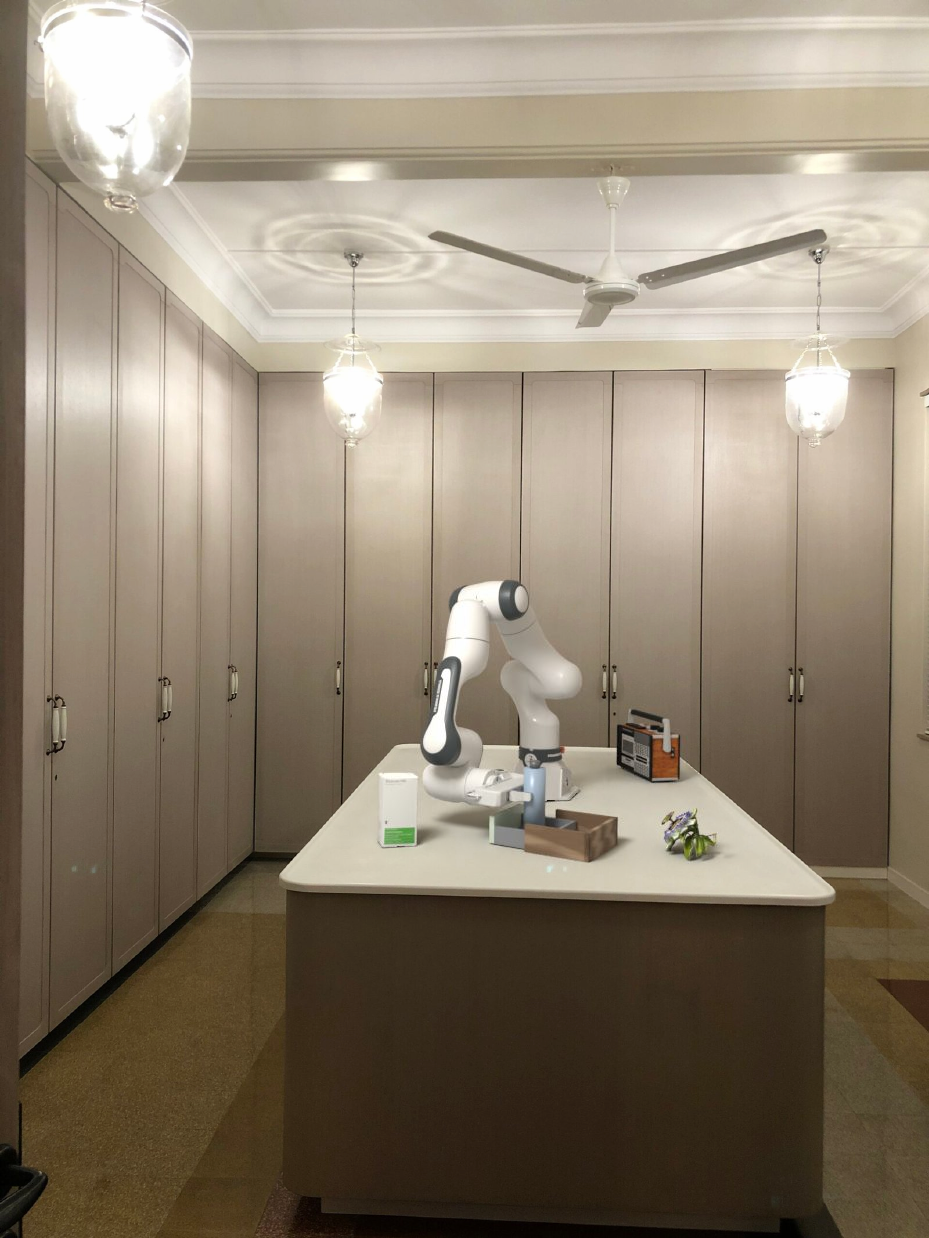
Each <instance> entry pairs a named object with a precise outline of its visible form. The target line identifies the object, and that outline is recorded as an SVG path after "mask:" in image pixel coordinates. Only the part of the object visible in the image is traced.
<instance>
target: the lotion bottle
mask: <svg viewBox="0 0 929 1238" xmlns="http://www.w3.org/2000/svg"><path fill="white" fill-rule="evenodd" d="M545 789H546V768H545V767H541V766H540V761H539V760H530V766H526V767H524V792H531V793H533V800H531V801H522V802H523V803H522V804H523V830H525V824H526V823H527V824H534V825H541V826H545V816H546V801H545Z"/></svg>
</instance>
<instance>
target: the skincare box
mask: <svg viewBox="0 0 929 1238" xmlns="http://www.w3.org/2000/svg"><path fill="white" fill-rule="evenodd" d="M377 794H378V795H377V796H378V799H377V801H378V802H377V804H378V805H377V827H376V828H377V829H376V831H377V832H376V835H377V837H376V838H377V839H376V840H377V843H379V845H380V847H381V848H397V846H405V847H414V846H413V845H417V844H418V840H417V839H418V804H419V803H418V802H419V799H418V798H419V776H418V775H416V774H415V773H413V772H378V793H377Z"/></svg>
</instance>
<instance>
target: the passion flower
mask: <svg viewBox="0 0 929 1238" xmlns="http://www.w3.org/2000/svg"><path fill="white" fill-rule="evenodd" d="M697 812H698V808H697V807H696V808H694V809H693V810H692V811H690V810H688V811H686V812H683V813H681V814H678V816H675V819H674V820H673V816H674V814H675V811H671V812H669V813H668V814H667V815H666V816H665V817H664V818H663V820H662V821H661V825H665V824H666V823H667V822H669V821H670V822H671V823H669V825H668V827H667V828H666V830H664V832H663V833H664V836H663V840H664V842H665V843H666V848H665V849H664V850H665V851H666V852H670V851H672V849H673V847H674V846H675V844H676V842H677V841H678V840H680V843H681V844H682V845H683V850H684V851H683V852H684V857H685V858H686V860H688V861H691V859H692V858H691V856H692V855H693V851H694V841H695V857H696V858H698V857H700V856H701V855H702V854H703V855H705V854H707V853H706V852H707V851H708V846H712V847H715V845H716V843H717V833H712V834H708V835H704V834H700V829H699V823H698V820H697V817H696V816H697ZM710 837H713V840H712V839H711V838H710Z"/></svg>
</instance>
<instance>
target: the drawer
mask: <svg viewBox="0 0 929 1238" xmlns="http://www.w3.org/2000/svg"><path fill="white" fill-rule="evenodd" d="M488 826H489V827H488V828H489V831H488V835H489V837H488V839H489V840H488V843H489V844H494V845H497V846H498V845H499V846H505V847H511V848H517V849H522V850H524V834H525V830H523V803H518V804H515V805H512V806H510V807H508V808H505V809H503V810H500V811H498V812H496V813H494V814H492V815H491V814H490V815H489V825H488ZM545 826H547V827H554V828H561V829H567V830H574V831H576V821H574V820H567V819H560V818H555V817H552V816H546V815H545Z"/></svg>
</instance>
